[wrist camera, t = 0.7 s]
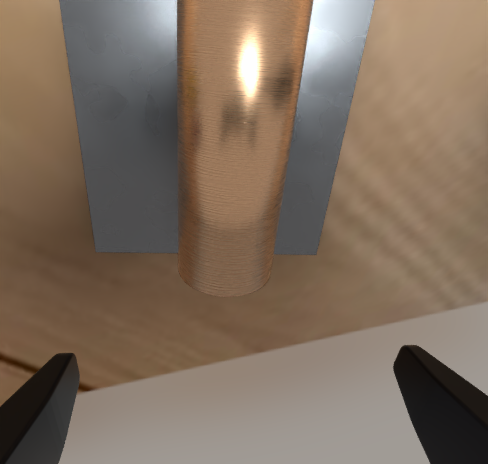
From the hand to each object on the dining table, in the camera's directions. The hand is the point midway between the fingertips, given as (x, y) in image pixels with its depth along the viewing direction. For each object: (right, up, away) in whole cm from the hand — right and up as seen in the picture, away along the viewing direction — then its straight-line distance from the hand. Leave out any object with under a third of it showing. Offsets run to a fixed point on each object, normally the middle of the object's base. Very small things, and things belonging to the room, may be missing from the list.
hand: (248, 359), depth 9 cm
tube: (-1, +10, +6) cm, 12 cm away
